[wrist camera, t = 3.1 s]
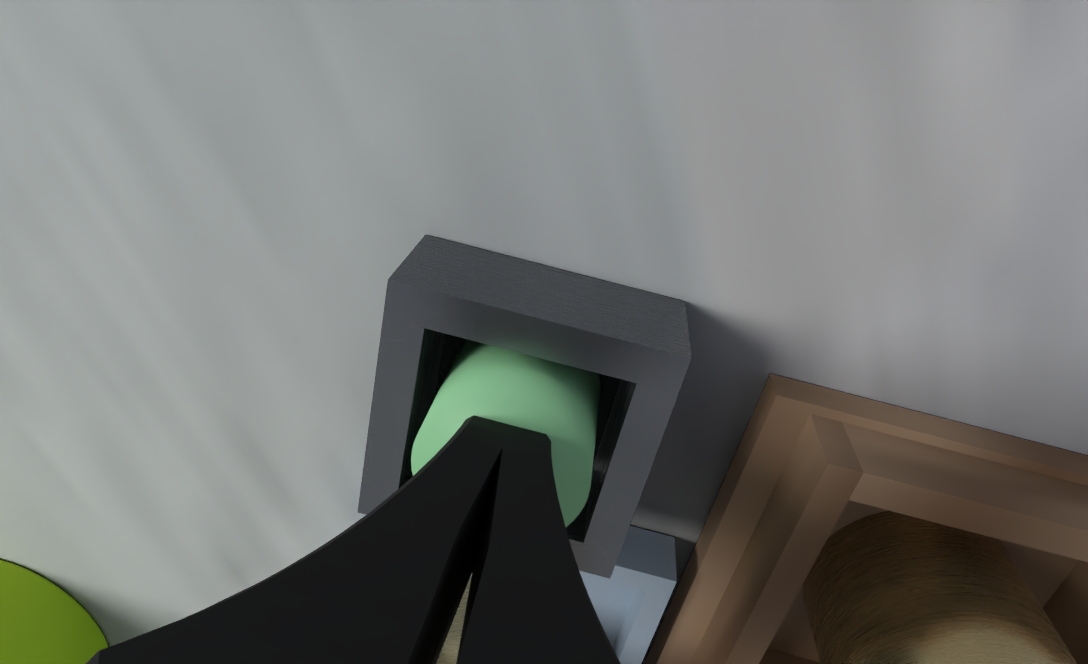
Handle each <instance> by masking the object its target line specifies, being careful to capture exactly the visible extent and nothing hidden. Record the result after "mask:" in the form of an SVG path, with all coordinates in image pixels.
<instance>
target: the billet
mask: <svg viewBox="0 0 1088 664" xmlns="http://www.w3.org/2000/svg"><path fill="white" fill-rule="evenodd" d="M802 590H803V598H804V602H805V606H806V610H807V614H808V618H809V622H810V626H811V630H812V634H813V638H814V642H815V646H816V650H817V654H818V658H819V662H820V664H1077V663H1076V661H1075V660H1074V658H1073V656H1072V655H1071V653H1070V652H1069V650H1068V648H1067V647H1066V645H1065V644H1064V642H1063V640H1062V639H1061V637H1060V636H1059V634H1058V632H1057V631H1056V629H1055V627H1054V626H1053V624H1052V623H1051V621H1050V619H1049V618H1048V616H1047V615H1046V613H1045V611H1044V610H1043V608H1042V607H1041V605H1040V603H1039V602H1038V600H1037V599H1036V597H1035V595H1034V594H1033V592H1032V590H1031V589H1030V587H1029V586H1028V584H1027V582H1026V581H1025V579H1024V578H1023V576H1022V574H1021V573H1020V571H1019V570H1018V568H1017V566H1016V565H1015V563H1014V562H1013V560H1012V558H1011V557H1010V555H1009V554H1008V552H1007V550H1006V549H1005V547H1004V545H1003V544H1002V543H1001V542H1000V540H999V539H996V538H993V537H989V536H985V535H981V534H977V533H973V532H970V531H966V530H962V529H958V528H954V527H950V526H947V525H943V524H939V523H935V522H931V521H927V520H924V519H920V518H916V517H912V516H908V515H904V514H901V513H897V512H893V511H884V512H879V513H876V514H872V515H869V516H866V517H863V518H861V519H859V520H856V521H854V522H852V523H850V524H848V525H846V526H844V527H842V528H841V529H839V530H838V531H837V532H835V533H834V534H832V535H831V536H830V537H829V538H828V539H827V540H826V542H825V544H824V546H823V548H822V550H821V551H820V553H819V555H818V557H817V559H816V561H815V562H814V564H813V566H812V568H811V570H810V571H809V573H808V575H807V577H806V579H805V581H804V582H803V585H802Z"/></svg>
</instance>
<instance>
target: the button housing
mask: <svg viewBox="0 0 1088 664" xmlns="http://www.w3.org/2000/svg"><path fill="white" fill-rule="evenodd" d="M446 334H449V335H453V336H456V337H460V338H464V339H468V340H472V341H476V342H480V343H483V344H487V345H491V346H495V347H499V348H503V349H507V350H510V351H514V352H518V353H522V354H526V355H530V356H533V357H537V358H541V359H545V360H549V361H553V362H557V363H560V364H564V365H568V366H572V367H576V368H580V369H584V370H587V371H591V372H595V373H599V374H603V375H607V376H610V377H614V378H618V379H621V380H620V383H619V386H618V390H617V393H616V396H615V399H614V402H613V405H612V408H611V411H610V415H609V418H608V421H607V424H606V427H605V430H604V433H603V436H602V439H601V443H600V446H599V449H598V452H597V455H596V458H595V461H594V464H593V468H592V478H591V487H590V492H589V496H588V499H587V501H586V503H585V506H584V507H583V509H582V511H581V512H580V514H579V515H578V516H577V517H576V518H575V520H574V521H573V522H572V523H570V524H569V525H568V526H567V527H566V531H567V534H568V538H569V541H570V544H571V548H572V551H573V554H574V557H575V560H576V563H577V566H578V568H579V571H583V572H587V573H590V574H594V575H598V576H602V577H606V578H609V579H610V578H611V575H612V572H613V570H614V567H615V564H616V562H617V559H618V556H619V554H620V551H621V548H622V545H623V543H624V540H625V537H626V535H627V532H628V529H629V526H630V524H631V521H632V518H633V516H634V513H635V510H636V508H637V505H638V502H639V499H640V497H641V494H642V491H643V489H644V486H645V483H646V481H647V478H648V475H649V472H650V470H651V467H652V464H653V462H654V459H655V456H656V453H657V451H658V448H659V445H660V443H661V440H662V437H663V435H664V432H665V429H666V426H667V424H668V421H669V418H670V416H671V413H672V410H673V407H674V405H675V402H676V399H677V397H678V394H679V391H680V389H681V386H682V383H683V380H684V378H685V375H686V372H687V370H688V367H689V364H690V362H691V359H692V356H691V347H690V338H689V330H688V321H687V312H686V304H685V301H681V300H677V299H673V298H669V297H665V296H661V295H658V294H654V293H650V292H646V291H642V290H638V289H634V288H630V287H627V286H623V285H619V284H615V283H611V282H607V281H603V280H599V279H596V278H592V277H588V276H584V275H580V274H576V273H572V272H568V271H565V270H561V269H557V268H553V267H549V266H545V265H541V264H537V263H534V262H530V261H526V260H522V259H518V258H514V257H510V256H506V255H503V254H499V253H495V252H491V251H487V250H483V249H479V248H475V247H472V246H468V245H464V244H460V243H456V242H452V241H448V240H444V239H441V238H437V237H433V236H429V235H425V236H424V237H423V238H422V240H421V241H420V242H419V243H418V244H417V246H416V247H415V248H414V249H413V250H412V251H411V253H410V254H409V255H408V256H407V257H406V259H405V260H404V261H403V262H402V263H401V265H400V266H399V267H398V268H397V269H396V271H395V272H394V273H393V274H392V275H391V277H390V278H389V279H388V284H387V292H386V299H385V307H384V315H383V322H382V330H381V338H380V345H379V353H378V361H377V368H376V376H375V383H374V391H373V399H372V406H371V414H370V422H369V429H368V437H367V445H366V452H365V460H364V467H363V475H362V483H361V490H360V498H359V506H358V512H359V513H362V514H366V515H367V514H368V513H370V512H371V511H372V510H373V509H375V508H376V507H377V506H378V505H379V504H381V503H382V502H383V501H384V500H386V499H387V498H388V497H389V496H390V495H392V494H393V493H394V492H395V491H397V490H398V489H399V488H400V487H401V486H403V485H404V484H405V483H406V482H407V481H408V480H409V479H410V478H411V477H413V474H412V468H411V454H412V448H413V444H414V441H415V438H416V436H417V434H418V432H419V430H420V428H421V426H422V424H423V422H424V420H425V418H426V416H427V414H428V412H429V410H430V407H431V405H432V403H433V401H434V396H435V391H436V385H437V380H438V374H439V368H440V363H441V357H442V352H443V346H444V341H445V335H446Z"/></svg>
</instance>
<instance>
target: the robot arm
mask: <svg viewBox="0 0 1088 664" xmlns="http://www.w3.org/2000/svg"><path fill="white" fill-rule="evenodd" d="M471 574H472V577H471V582H470V588H469V594H468V599H467V605H466V611H465V616H464V622H463V628H462V633H461V639H460V645H459V650H458V656H457V662H456V664H621V663H620V661H619V659H618V658H617V656H616V654H615V652H614V650H613V648H612V646H611V643H610V641H609V639H608V637H607V635H606V633H605V631H604V629H603V627H602V625H601V623H600V620H599V618H598V616H597V614H596V611H595V609H594V607H593V604H592V602H591V600H590V597H589V595H588V592H587V590H586V587H585V585H584V582H583V579H582V577H581V574H580V571H579V568H578V566H577V563H576V560H575V557H574V554H573V551H572V548H571V544H570V541H569V538H568V534H567V531H566V527H565V523H564V519H563V516H562V512H561V508H560V504H559V500H558V495H557V490H556V485H555V479H554V473H553V466H552V456H551V440H550V439H549V437H548V436H547V434H544V433H540V432H537V431H533V430H529V429H525V428H521V427H517V426H513V425H509V424H505V423H502V422H498V421H494V420H490V419H486V418H482V417H479V416H475V415H473V416H471V417H469V418H467V419H466V420H465V421H464V423H463V424H462V425H461V427H460V428H459V429H458V430H457V432H456V433H455V434H454V435H453V436H452V437H451V439H450V440H449V441H448V442H447V443H446V444H445V445H444V446H443V447H442V448H441V449H440V450H439V451H438V452H437V454H436V455H435V456H434V457H433V458H432V459H431V460H429V461H428V462H427V463H426V464H425V465H424V466H423V467H422V468H421V469H420V470H419V471H418V472H417V473H416V474H415V475H414V476H413V477H411V478H410V479H409V480H408V481H407V482H406V483H405V484H404V485H403V486H401V487H400V488H399V489H398V490H397V491H395V492H394V493H393V494H392V495H390V496H389V497H388V498H387V499H386V500H384V501H383V502H382V503H381V504H379V505H378V506H377V507H376V508H375V509H373V510H372V511H371V512H370V513H368V514H367V515H366V516H364V517H363V518H362V519H360V520H359V521H358V522H356V523H355V524H354V525H352V526H351V527H349V528H348V529H346V530H345V531H344V532H342V533H341V534H339V535H338V536H336V537H335V538H333V539H332V540H330V541H329V542H327V543H326V544H324V545H323V546H321V547H320V548H318V549H316V550H315V551H313V552H311V553H310V554H308V555H306V556H305V557H303V558H301V559H300V560H298V561H296V562H295V563H293V564H291V565H290V566H288V567H286V568H285V569H283V570H281V571H279V572H278V573H276V574H274V575H272V576H270V577H269V578H267V579H265V580H263V581H261V582H259V583H257V584H255V585H253V586H251V587H249V588H247V589H245V590H243V591H241V592H239V593H237V594H235V595H233V596H230V597H228V598H226V599H224V600H222V601H220V602H218V603H216V604H214V605H212V606H210V607H208V608H206V609H204V610H202V611H199V612H197V613H195V614H193V615H190V616H188V617H186V618H183V619H181V620H179V621H176V622H173V623H171V624H168V625H166V626H163V627H161V628H158V629H155V630H153V631H150V632H148V633H145V634H143V635H140V636H137V637H135V638H132V639H130V640H127V641H125V642H122V643H119V644H117V645H114V646H111V647H108V648H105V649H102V650H100V651H98V652H97V653H96V654H95V655H94V656H93V657H92V658H91V659H90V660H89V661H88V662H87V663H86V664H436V663H437V660H438V658H439V655H440V653H441V650H442V647H443V645H444V642H445V640H446V637H447V635H448V632H449V630H450V627H451V625H452V622H453V620H454V617H455V615H456V612H457V610H458V607H459V604H460V602H461V599H462V597H463V594H464V592H465V589H466V587H467V584H468V582H469V579H470V576H471Z"/></svg>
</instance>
